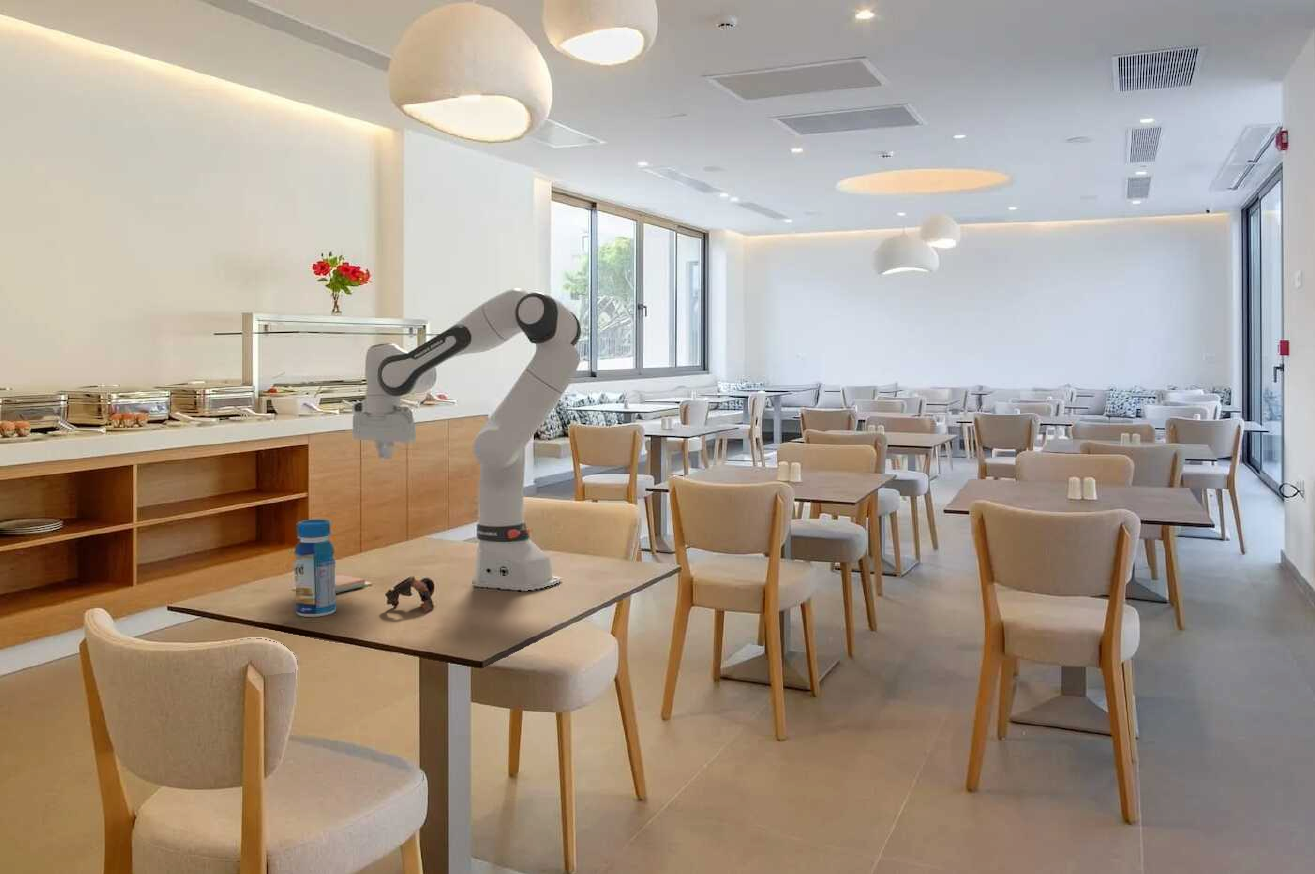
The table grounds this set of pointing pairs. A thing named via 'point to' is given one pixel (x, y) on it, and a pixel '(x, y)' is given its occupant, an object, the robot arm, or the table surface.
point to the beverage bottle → (314, 569)
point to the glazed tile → (347, 583)
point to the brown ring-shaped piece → (404, 588)
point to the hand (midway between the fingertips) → (384, 458)
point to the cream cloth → (350, 589)
